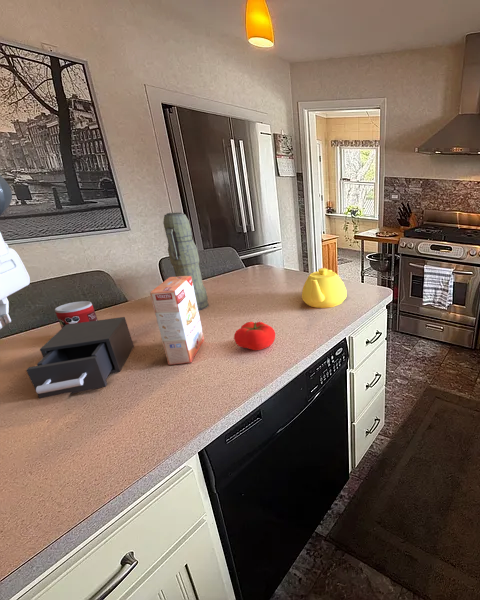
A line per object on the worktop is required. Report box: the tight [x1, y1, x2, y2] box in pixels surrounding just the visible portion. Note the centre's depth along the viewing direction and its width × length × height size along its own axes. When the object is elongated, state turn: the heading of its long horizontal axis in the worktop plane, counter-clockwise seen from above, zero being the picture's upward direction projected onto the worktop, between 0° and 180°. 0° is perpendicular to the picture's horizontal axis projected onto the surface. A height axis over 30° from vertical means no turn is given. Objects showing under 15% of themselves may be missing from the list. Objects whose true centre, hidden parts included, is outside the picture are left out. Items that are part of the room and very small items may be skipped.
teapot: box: [301, 267, 348, 309], centre depth 129 cm, size 25×18×14 cm
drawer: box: [25, 342, 114, 399], centre depth 76 cm, size 18×11×8 cm, turn 26°
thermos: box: [162, 212, 209, 311], centre depth 118 cm, size 9×12×35 cm
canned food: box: [54, 300, 98, 329], centre depth 98 cm, size 8×8×11 cm
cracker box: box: [149, 276, 205, 366], centre depth 90 cm, size 14×6×21 cm, turn 17°
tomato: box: [233, 321, 276, 351], centre depth 96 cm, size 10×11×6 cm
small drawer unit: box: [39, 316, 135, 375], centre depth 85 cm, size 15×13×10 cm
